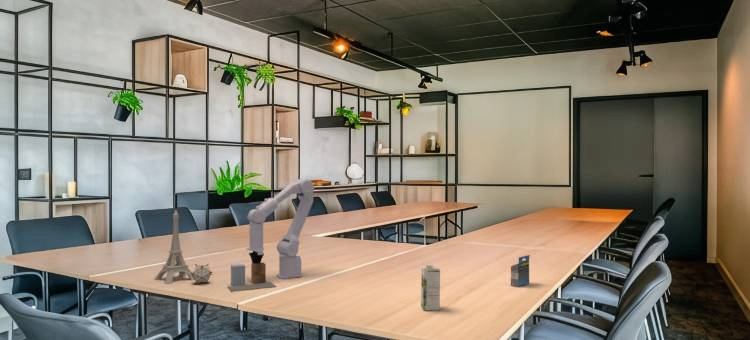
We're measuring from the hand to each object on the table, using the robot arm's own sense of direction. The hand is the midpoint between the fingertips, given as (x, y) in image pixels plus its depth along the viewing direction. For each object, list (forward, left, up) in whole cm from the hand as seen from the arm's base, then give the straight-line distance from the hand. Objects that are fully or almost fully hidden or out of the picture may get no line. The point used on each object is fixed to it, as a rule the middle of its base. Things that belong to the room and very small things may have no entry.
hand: (256, 269), depth 217 cm
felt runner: (+4, +11, -5) cm, 13 cm away
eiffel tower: (+30, -18, -5) cm, 36 cm away
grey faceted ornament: (+21, -5, -5) cm, 23 cm away
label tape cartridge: (-97, +56, -5) cm, 111 cm away
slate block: (+8, +4, -5) cm, 11 cm away
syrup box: (-44, +69, -5) cm, 81 cm away
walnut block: (0, +4, -5) cm, 6 cm away
